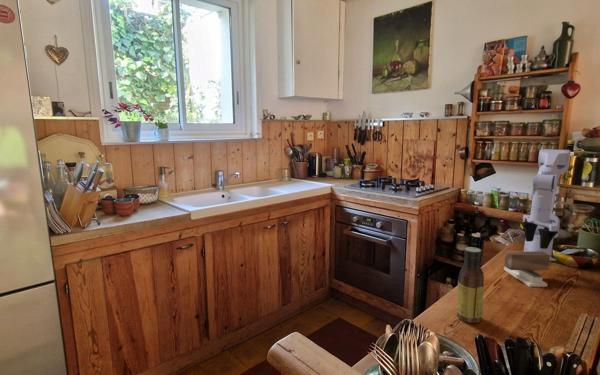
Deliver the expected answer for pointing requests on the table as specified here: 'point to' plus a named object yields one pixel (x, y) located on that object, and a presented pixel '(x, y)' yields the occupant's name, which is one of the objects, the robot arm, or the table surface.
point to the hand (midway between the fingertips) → (536, 244)
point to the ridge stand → (528, 277)
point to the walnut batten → (527, 260)
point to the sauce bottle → (470, 287)
